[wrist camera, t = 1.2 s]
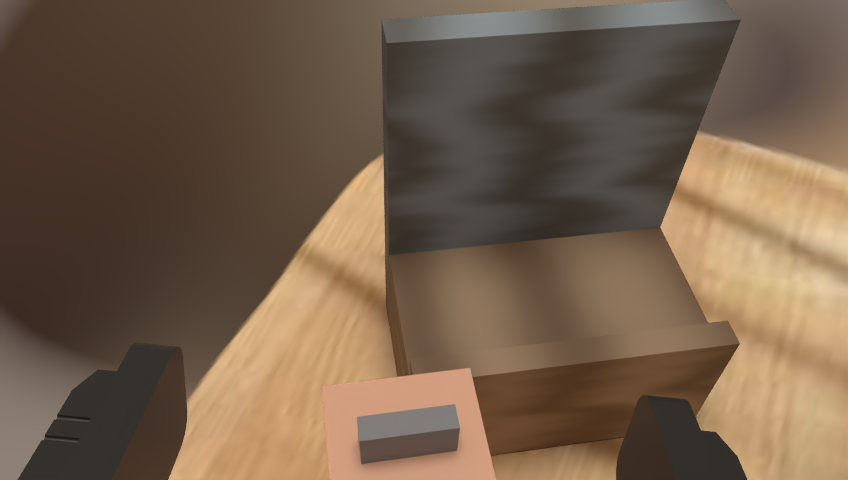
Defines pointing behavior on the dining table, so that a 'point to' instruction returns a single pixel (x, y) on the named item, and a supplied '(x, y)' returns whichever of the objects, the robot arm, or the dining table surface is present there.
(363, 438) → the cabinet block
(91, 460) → the robot arm
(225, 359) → the dining table surface
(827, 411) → the dining table surface
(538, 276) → the grey brown l-shaped block
